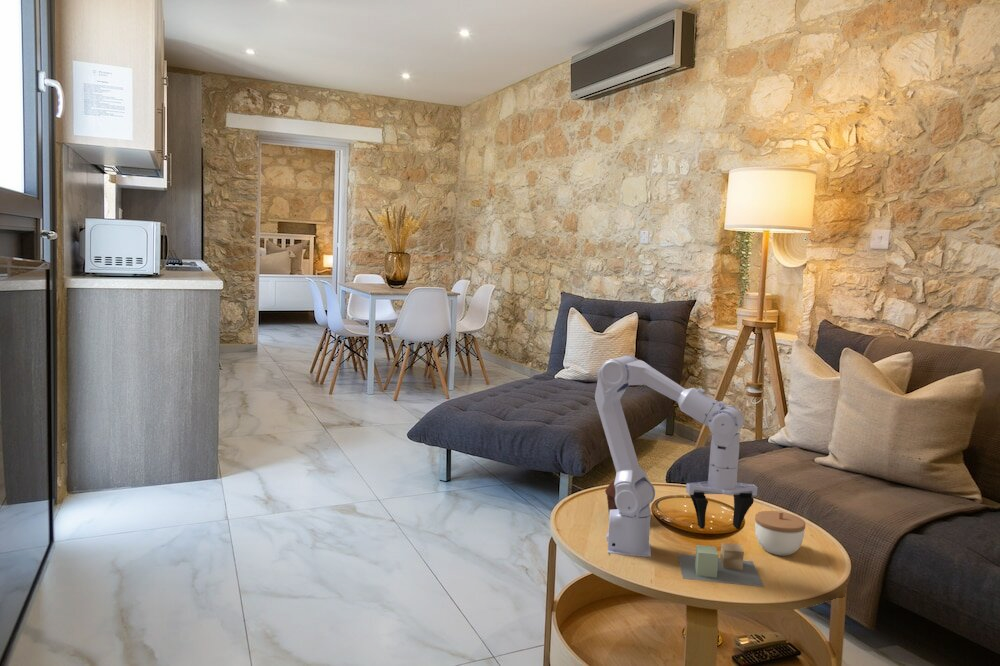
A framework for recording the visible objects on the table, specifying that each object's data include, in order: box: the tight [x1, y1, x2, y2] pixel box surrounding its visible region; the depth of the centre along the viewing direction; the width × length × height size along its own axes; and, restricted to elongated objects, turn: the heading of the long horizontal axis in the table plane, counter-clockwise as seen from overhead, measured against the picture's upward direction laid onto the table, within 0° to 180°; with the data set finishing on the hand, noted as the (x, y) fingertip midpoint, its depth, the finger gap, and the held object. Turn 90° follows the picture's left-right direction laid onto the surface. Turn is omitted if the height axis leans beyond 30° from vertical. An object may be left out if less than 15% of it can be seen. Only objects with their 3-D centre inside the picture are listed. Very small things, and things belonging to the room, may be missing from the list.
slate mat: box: [677, 553, 765, 588], centre depth 148 cm, size 16×12×1 cm
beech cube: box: [719, 542, 745, 570], centre depth 150 cm, size 4×4×4 cm
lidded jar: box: [754, 510, 806, 557], centre depth 159 cm, size 11×11×9 cm
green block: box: [695, 544, 719, 578], centre depth 146 cm, size 4×4×5 cm
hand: (718, 527), depth 147 cm, fingers open, 7 cm apart
